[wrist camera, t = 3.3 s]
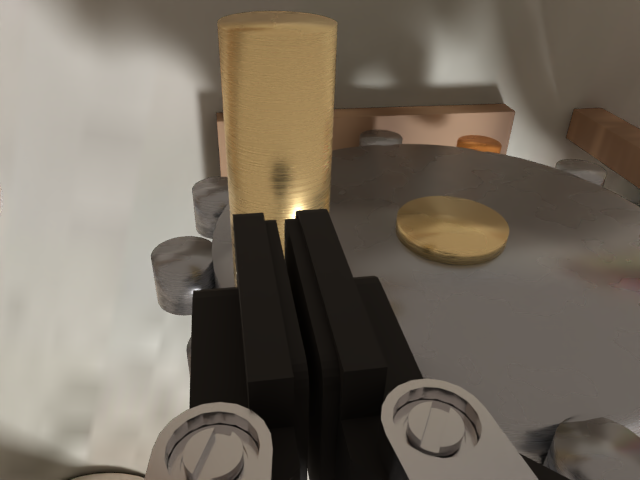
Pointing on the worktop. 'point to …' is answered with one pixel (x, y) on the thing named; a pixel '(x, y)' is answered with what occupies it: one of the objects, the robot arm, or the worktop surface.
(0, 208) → the engine component
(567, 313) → the sprocket
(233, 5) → the worktop surface
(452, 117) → the wheel stand
